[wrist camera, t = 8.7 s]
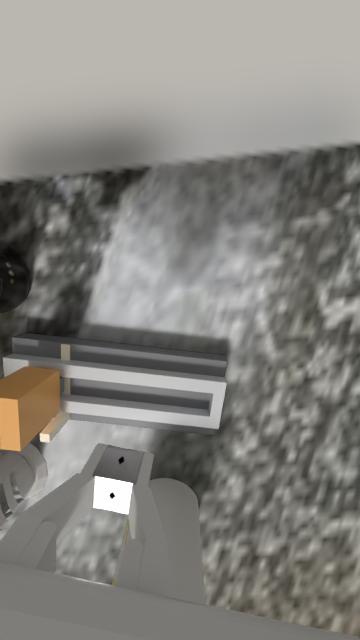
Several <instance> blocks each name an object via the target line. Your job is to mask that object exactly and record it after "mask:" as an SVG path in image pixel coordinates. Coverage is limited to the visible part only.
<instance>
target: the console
mask: <svg viewBox="0 0 360 640" xmlns="http://www.w3.org/2000/svg"><path fill="white" fill-rule="evenodd" d="M12 350H13V354H10V355H8V356H6V357H3V368H4V377H6V376H8V375H10V374H12V373H13V372H15V371H17V370H19V369H21V368H23V367H25V366H28V367H37V368H46V369H55V370H60V377H64V392H63V393H62V394H61V395H60V411H59V412H58V413H57V414H56V415H55V416H54V417H53V418H54V419H53V420H52V421H51V422H50V423H49V424H48V425H47V426H46V427H45V428H44V430H43V431H42V432H41V433H40V442H50V441H51V440H52V439H53V438H54V437H55V435H56V434H57V433H58V432H59V431H60V429H61V428H62V427H63V426H64V425H65V423H66V422H67V421H68V420H69V419H71V420H80V421H89V422H98V423H107V424H117V425H126V426H135V427H144V428H153V429H162V430H171V431H180V432H190V433H199V434H208V435H214V434H215V429H219V424H220V418H221V412H222V407H223V401H224V395H225V390H226V384H227V382H226V380H225V378H224V376H225V370H226V365H227V361H226V359H225V357H224V355H218V354H209V353H200V352H192V351H183V350H174V349H165V348H156V347H148V346H139V345H130V344H121V343H112V342H103V341H95V340H86V339H77V338H68V337H59V336H51V335H42V334H33V333H23V334H20V335H17V336H14V337H12Z"/></svg>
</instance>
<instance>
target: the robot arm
mask: <svg viewBox="0 0 360 640" xmlns="http://www.w3.org/2000/svg"><path fill="white" fill-rule="evenodd" d="M153 459H154V454H153V453H147V452H143V451H137V450H132V449H125V448H120V447H116V446H111V445H106V444H102V443H98V445H97V446H96V447H95V449H94V451H93V453H92V454H91V456H90V458H89V460H88V461H87V463H86V465H85V467H84V468H83V470H82V472H81V473H80V474H78V473H77V474H76V475H74V476H73V477H72V478H70V479H69V480H67V481H66V482H65V483H63V484H62V485H60V486H59V487H58V488H56V489H55V490H54V491H52V492H51V493H49V494H48V495H47V496H45V497H44V498H42V499H41V500H40V501H38V502H37V503H35V504H34V505H33V506H31V507H30V508H29V509H27V510H26V511H24V512H23V513H22V514H20V515H19V517H18V518H17V520H16V521H15V522H14V524H13V525H12V526H11V528H10V529H9V531H8V532H7V533H6V535H5V536H4V537H3V539H2V540H1V541H0V640H360V637H356V636H351V635H346V634H341V633H337V632H332V631H327V630H322V629H318V628H313V627H308V626H303V625H299V624H294V623H289V622H284V621H280V620H275V619H270V618H265V617H261V616H256V615H251V614H246V613H242V612H237V611H232V610H227V609H223V608H218V607H213V606H208V605H204V604H199V603H194V602H189V601H185V600H180V599H175V598H170V597H166V596H164V591H165V580H166V568H167V557H168V542H167V539H166V536H165V533H164V530H163V527H162V523H161V520H160V517H159V514H158V511H157V508H156V504H155V501H154V498H153V495H152V492H151V489H150V488H149V482H150V477H151V471H152V465H153ZM92 507H93V508H99V509H105V510H111V511H115V512H119V513H123V514H128V520H129V526H130V533H131V539H130V540H129V541H127V542H126V546H125V550H124V554H123V558H122V561H121V565H120V569H119V573H118V577H117V581H116V585H115V586H114V585H109V584H105V583H100V582H95V581H90V580H86V579H81V578H76V577H72V576H67V575H62V574H57V573H55V570H56V546H57V545H58V544H59V543H60V542H61V541H62V540H63V539H64V538H65V537H66V536H67V535H68V534H69V533H70V532H71V531H72V529H73V528H74V527H75V526H76V525H77V524H78V523H79V522H80V521H81V520H82V519H83V518H84V517H85V516H86V515H87V514H88V513H89V512H90V511H91V510H92Z"/></svg>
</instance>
